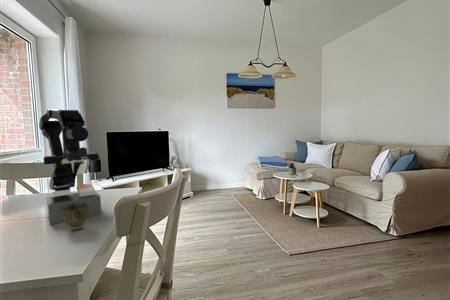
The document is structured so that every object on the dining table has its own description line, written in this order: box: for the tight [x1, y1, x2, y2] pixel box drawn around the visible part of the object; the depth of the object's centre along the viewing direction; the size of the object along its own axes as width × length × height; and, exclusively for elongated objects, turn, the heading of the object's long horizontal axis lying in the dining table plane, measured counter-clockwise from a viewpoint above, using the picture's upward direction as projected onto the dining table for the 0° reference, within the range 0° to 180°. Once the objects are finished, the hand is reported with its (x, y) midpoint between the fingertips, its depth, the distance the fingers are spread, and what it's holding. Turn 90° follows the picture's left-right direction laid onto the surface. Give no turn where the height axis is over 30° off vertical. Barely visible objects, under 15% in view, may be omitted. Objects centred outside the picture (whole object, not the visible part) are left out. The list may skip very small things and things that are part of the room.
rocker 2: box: [76, 182, 96, 197], centre depth 94 cm, size 8×5×2 cm, turn 38°
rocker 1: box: [51, 189, 71, 197], centre depth 89 cm, size 8×5×2 cm, turn 38°
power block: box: [46, 190, 102, 225], centre depth 93 cm, size 12×16×7 cm
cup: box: [61, 202, 88, 232], centre depth 79 cm, size 8×7×8 cm
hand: (73, 179), depth 100 cm, fingers closed
